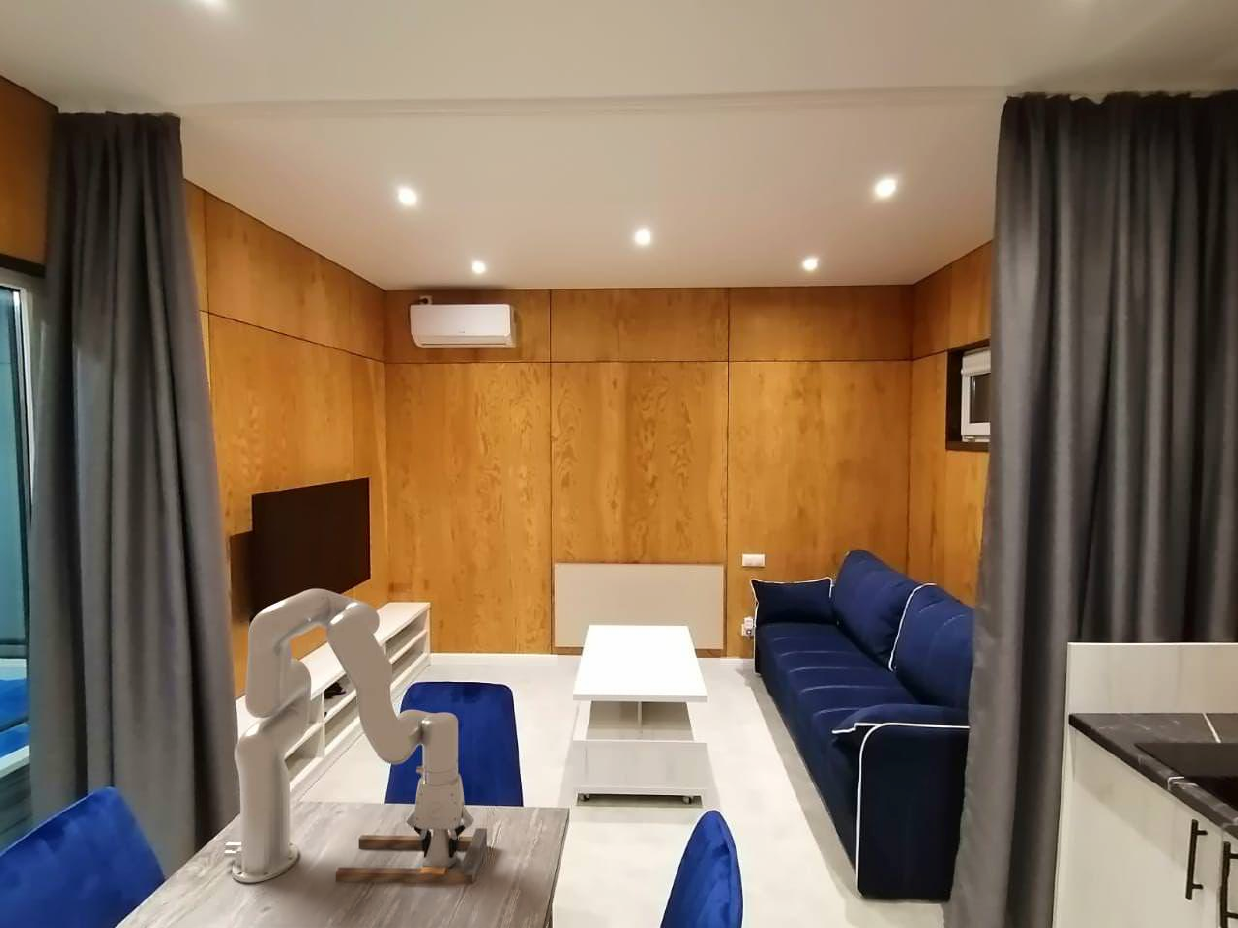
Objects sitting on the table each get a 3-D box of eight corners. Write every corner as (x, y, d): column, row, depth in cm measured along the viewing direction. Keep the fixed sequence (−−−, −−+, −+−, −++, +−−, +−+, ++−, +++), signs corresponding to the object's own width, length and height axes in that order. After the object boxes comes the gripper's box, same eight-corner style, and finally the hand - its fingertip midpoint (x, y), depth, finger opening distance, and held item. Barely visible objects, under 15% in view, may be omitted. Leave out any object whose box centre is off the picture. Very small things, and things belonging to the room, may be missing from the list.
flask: (447, 874, 131) (447, 828, 131) (416, 870, 132) (416, 824, 132) (462, 853, 138) (462, 809, 138) (433, 848, 139) (433, 805, 139)
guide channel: (335, 881, 129) (335, 862, 129) (361, 843, 142) (361, 826, 142) (473, 883, 129) (473, 864, 128) (487, 845, 141) (487, 828, 141)
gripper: (395, 780, 131) (395, 864, 131) (474, 782, 131) (474, 865, 131) (408, 762, 138) (407, 842, 139) (482, 764, 138) (482, 843, 139)
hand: (440, 852), depth 135 cm, fingers closed on flask, 4 cm apart
